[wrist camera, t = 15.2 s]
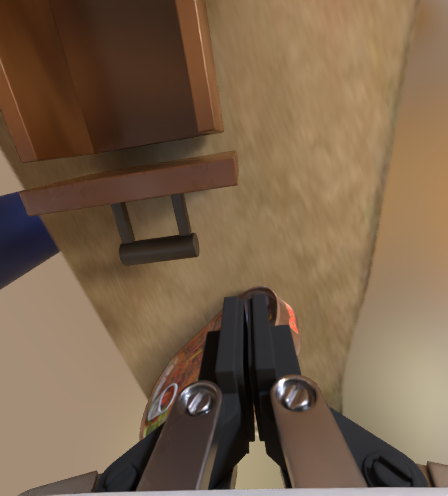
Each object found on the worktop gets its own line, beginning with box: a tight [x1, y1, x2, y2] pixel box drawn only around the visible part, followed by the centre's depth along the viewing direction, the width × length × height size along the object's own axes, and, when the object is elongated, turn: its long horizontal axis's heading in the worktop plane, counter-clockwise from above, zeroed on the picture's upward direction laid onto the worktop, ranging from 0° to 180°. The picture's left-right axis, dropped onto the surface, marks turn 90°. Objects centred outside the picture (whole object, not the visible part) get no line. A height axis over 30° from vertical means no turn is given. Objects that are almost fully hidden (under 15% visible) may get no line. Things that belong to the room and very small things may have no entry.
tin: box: [140, 286, 301, 441], centre depth 21 cm, size 15×3×8 cm, turn 138°
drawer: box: [0, 0, 239, 266], centre depth 14 cm, size 20×10×7 cm, turn 9°
